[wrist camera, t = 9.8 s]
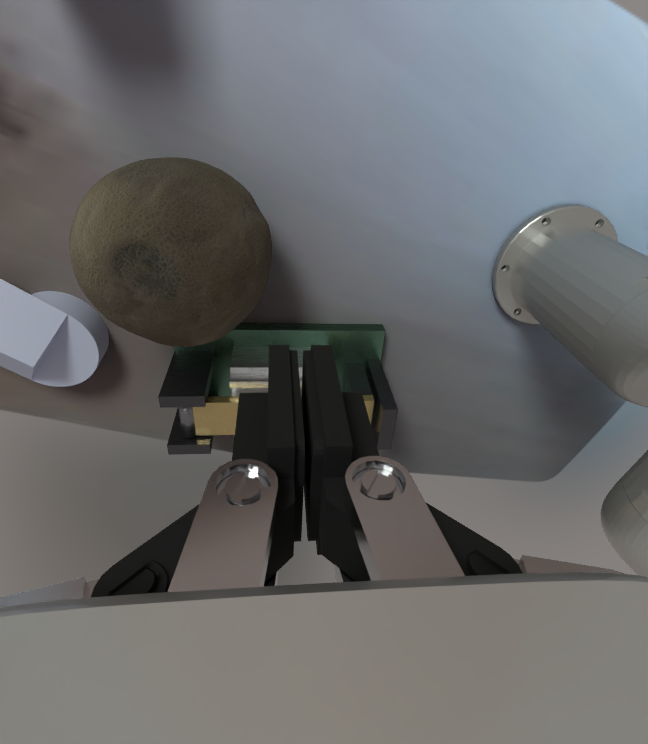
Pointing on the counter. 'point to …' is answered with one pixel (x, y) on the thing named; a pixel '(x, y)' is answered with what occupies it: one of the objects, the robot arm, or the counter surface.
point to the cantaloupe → (171, 250)
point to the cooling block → (250, 371)
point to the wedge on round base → (50, 336)
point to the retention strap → (224, 416)
